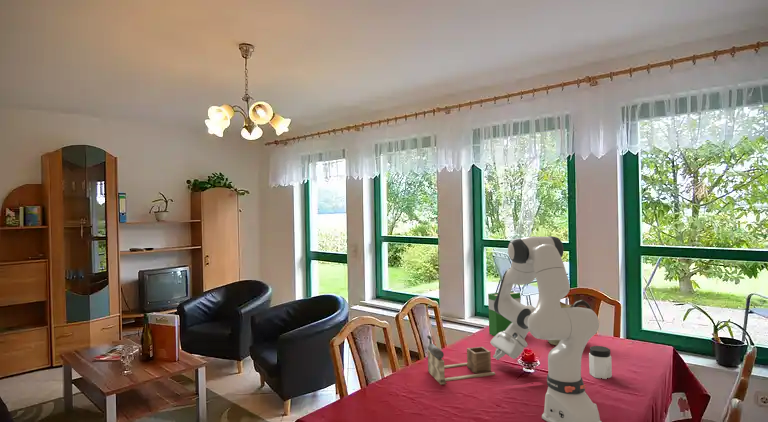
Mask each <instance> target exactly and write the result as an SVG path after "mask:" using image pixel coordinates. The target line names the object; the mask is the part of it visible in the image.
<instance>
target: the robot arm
mask: <svg viewBox="0 0 768 422" xmlns="http://www.w3.org/2000/svg"><path fill="white" fill-rule="evenodd" d="M507 253H508V254H507V255H508V257H509V259H510V260H511V267H508V268H507V269H506V270H505V272H504V273H503V275H502V278H501V281H500V285H499V288H498V292H497V293H498V295H497V297H496V299H495V301H494V310H495V312H496V313H498V314H500V315H502V316H503V317H505V318H506V319H508V320H509V321H511V322H512V323H511V324H510V325H509V326H508V328H507V329H506V330H505V331H502V332H499V333H498V334H497V335H496V336H493V337H492V339H490V342H489V343H490V344H491V346H492V347H493V348H495V353H494V354H493V355H492V357H493V359H495V360H497V361H499V360H500V359H502V358H503V357H504V356H505V355H507V356H508V357H509V358H512V359H513V360H515V359H517V358H518V357H519V356H520V355H521V354H522V352H523V351H524V349H525V348H527V347H528V345H529V344H528V342H527V341H526V337H527V335H528V334H529V333H530V334H531V335H532V337H534V338H535V339H538V340H546V341H548V340H558V339H561V340H560V342H559V344H558V345H557V346H556V345H555V347H553V348H551V350H550V351H549V352H548V355H547V368H548V369H547V370H548V371H547V372H548V373H547V376H546V383H547V386H548V387H547V390H546V393H545V396H544V408H543V409H544V410H543V413H542V414H541V419H543V420H544V421H546V422H602V420H601V418H600V413H599V412H600V411H599V410H598V406H597V403H594V402H593V400H592V399H591V398H590V397H589V395H588V394H587V393H586V389H587V387H586V386H587V384H584V383H585V382H584V380H583V377H582V358H583V353H584V350H585V347H586V346H587V344H588V343H589V341H590V339H592V337H594V336H595V335H596V334H597V333H598V331H599V329H600V320H599V317H598V315H597V314H596V312H595V311H594V310H593V309H592V308H591V309H592V310H591V309H588V308H586V307H580V306H578V307H570V308H561V306H560V302H561V300H562V299H564V298H565V297H566V296H567V295H568V294H569V293H570V289H571V287H570V282H569V278H568V275H567V270H566V267H565V263H564V261H563V258H562V257H563V256H564V244H563V242H562V241H561V238H559V237H557V236H551V235H549V236H548V235H547V236H542V235H541V236H525V237H515V238H513V239H510V241H509V243H508V245H507ZM534 280H536V283H537V284H536V285H537V289H538V300H537V304H536V306H535V307H534V306H533V305H530V304H528V305H525V304H522V302H521V303H519V302H518V301H516V300H515V299H513V298H512V297H511V295H510V293H511V291H512V289H513V285H514V284H515V285H519V286H521V285H523V286H524V285H528V284H531V283H533V282H534Z"/></svg>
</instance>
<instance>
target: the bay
mask: <svg viewBox="0 0 768 422" xmlns="http://www.w3.org/2000/svg"><path fill="white" fill-rule="evenodd" d="M426 337H427V339H428V340H429V344H428V345H427V371H428V373H429V374H430V375H431V377H433V378H434V380H436V382H438V383H439V385H447V384H448V383H447V382H449V381H457V380H465V379H472V378H480V377H481V378H482V377H488V376H494V375H495V376H496V372H495V371H491V372H483V373H473V374H466V375H459V376H451V377H445V369H447V368H449V369H450V368H457V367H465V366H466V367H467V362H463V363H453V364H446V365H445V360H444V359H443V358H444V355H445V354H444V352H443V351H442V350H441V349H440V348H439V347H437V346H436V345H435V344H434V343H433V342H432V341H433V340H432V336H431V335H427V336H426Z"/></svg>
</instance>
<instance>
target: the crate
mask: <svg viewBox="0 0 768 422" xmlns="http://www.w3.org/2000/svg"><path fill="white" fill-rule="evenodd" d="M491 355H492V354H491V351H490V350H488V349H487V348H485V347H484V346H476V347H467V348H466V358H467V359H466V360H467V361H466V363H467V366H466V367H467V368H468V370H470V371H471V372H472V373H473V374H481V373H489V372H492V362H491V361H492V360H491V359H492V358H491V357H492V356H491Z"/></svg>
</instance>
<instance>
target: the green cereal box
mask: <svg viewBox="0 0 768 422" xmlns="http://www.w3.org/2000/svg"><path fill="white" fill-rule="evenodd" d="M497 295H498V292H494V293H493V292H492V293H488V295H487V297H488V299H487V300H488V302H487V303H488V331H489V332H488V334H489V335H490V336H493V337H495V336H496V335H497V334H498V333H499V332H502V331H505V330H506V329H507V328H508V326H509V325H510V324H511V323H512V322H511V321H509V320H508V319H506V318H505V317H503V316H502V315H500V314H498V313H496V312H495V310H494V301H495V299H496V297H497ZM510 295H511V297H512V298H513V299H515V300H516V301H518V302H519V303H521V304H522V302H521V301H522V300H521V292H514V290H511V293H510Z"/></svg>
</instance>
